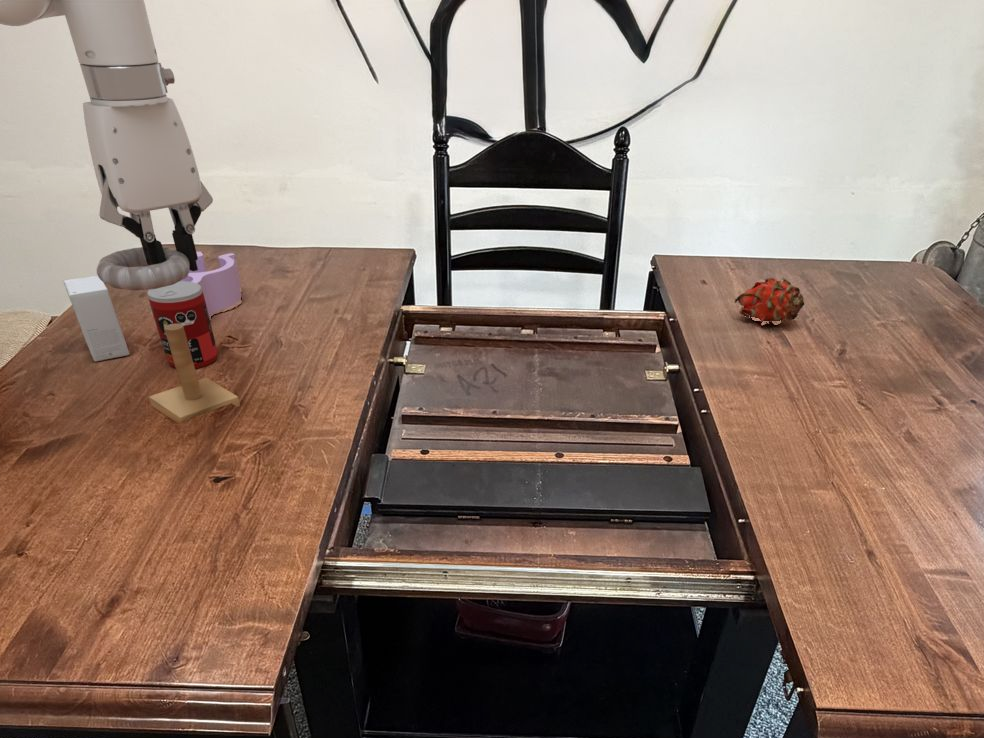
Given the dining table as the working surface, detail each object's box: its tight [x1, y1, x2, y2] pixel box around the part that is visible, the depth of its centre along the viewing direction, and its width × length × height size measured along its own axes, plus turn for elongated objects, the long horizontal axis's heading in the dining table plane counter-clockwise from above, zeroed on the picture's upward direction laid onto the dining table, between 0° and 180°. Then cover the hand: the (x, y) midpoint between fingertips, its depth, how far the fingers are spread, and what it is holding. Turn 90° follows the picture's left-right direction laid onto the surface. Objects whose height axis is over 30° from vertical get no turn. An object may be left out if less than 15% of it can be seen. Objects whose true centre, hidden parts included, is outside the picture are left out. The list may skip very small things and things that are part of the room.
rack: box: [148, 324, 241, 424], centre depth 99 cm, size 9×9×12 cm
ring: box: [96, 246, 190, 291], centre depth 83 cm, size 10×10×2 cm
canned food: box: [147, 281, 218, 369], centre depth 111 cm, size 8×8×11 cm
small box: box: [62, 275, 131, 363], centre depth 113 cm, size 8×6×10 cm
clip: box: [181, 251, 242, 318], centre depth 130 cm, size 20×12×7 cm, turn 173°
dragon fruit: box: [734, 277, 806, 323], centre depth 128 cm, size 8×8×12 cm
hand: (175, 270), depth 86 cm, fingers closed on ring, 3 cm apart
